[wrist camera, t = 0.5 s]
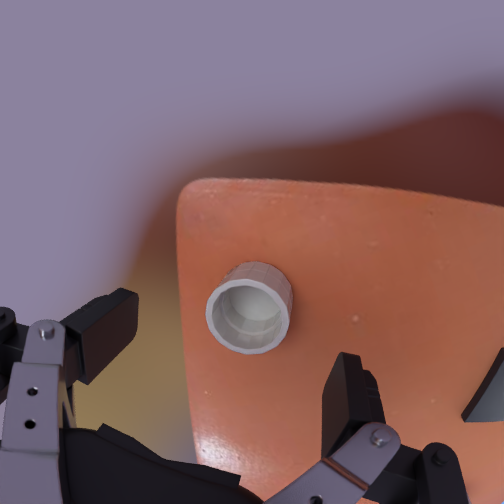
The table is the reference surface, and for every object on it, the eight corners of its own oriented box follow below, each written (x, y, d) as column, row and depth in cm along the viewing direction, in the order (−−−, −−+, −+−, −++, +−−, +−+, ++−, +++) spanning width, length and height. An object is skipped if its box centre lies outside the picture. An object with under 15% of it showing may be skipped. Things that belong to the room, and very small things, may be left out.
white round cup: (229, 252, 26) (211, 270, 22) (300, 269, 26) (298, 291, 21) (218, 314, 28) (201, 342, 24) (283, 331, 28) (277, 362, 23)
